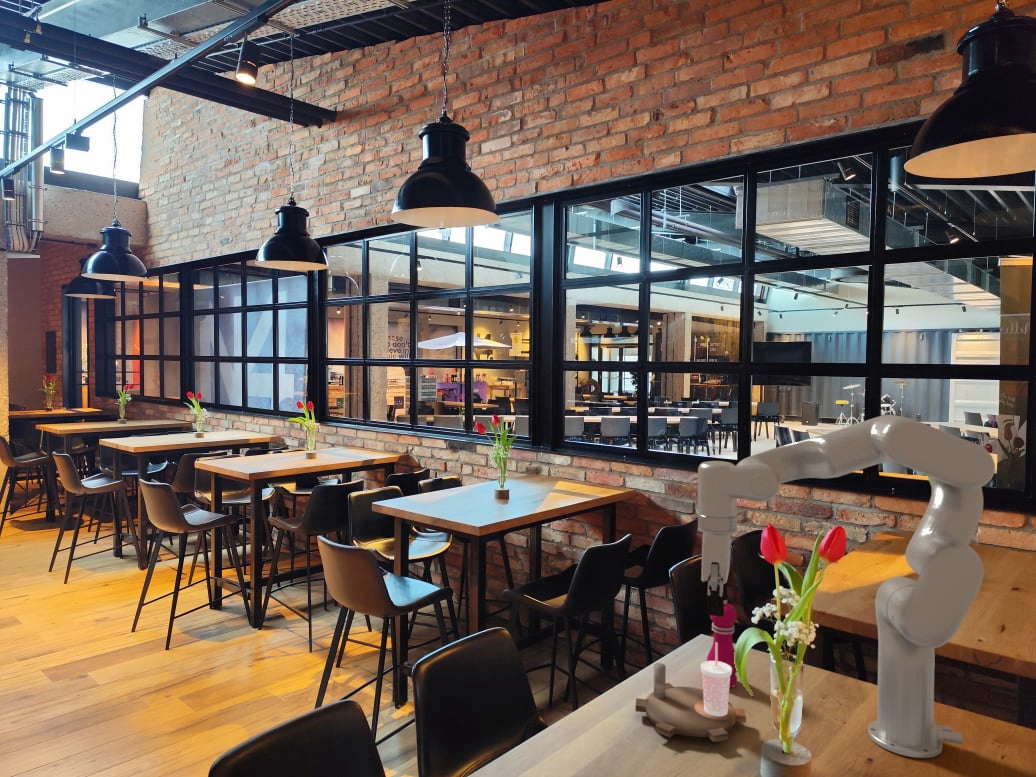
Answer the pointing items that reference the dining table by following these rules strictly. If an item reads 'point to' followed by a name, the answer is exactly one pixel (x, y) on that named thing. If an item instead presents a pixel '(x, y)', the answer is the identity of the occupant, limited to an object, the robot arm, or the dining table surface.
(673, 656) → the dining table surface
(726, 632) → the pepper mill
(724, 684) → the beverage cup
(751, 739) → the dining table surface
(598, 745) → the dining table surface
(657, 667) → the sprocket
